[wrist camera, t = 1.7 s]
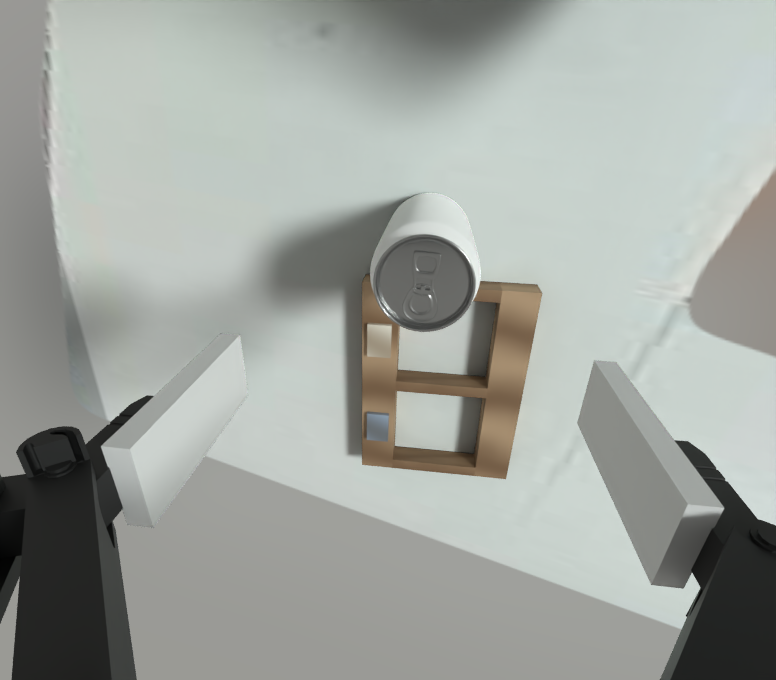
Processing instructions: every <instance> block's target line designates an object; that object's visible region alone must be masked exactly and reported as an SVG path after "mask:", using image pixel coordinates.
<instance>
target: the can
mask: <svg viewBox="0 0 776 680" xmlns="http://www.w3.org/2000/svg"><path fill="white" fill-rule="evenodd" d="M480 278H481V267H480V260H479V256H478V252H477V248H476V244H475V240H474V237H473V233H472V230H471V226H470V223H469V220H468V218H467V216H466V214H465V212H464V210H463V209H462V208H461V207H460V206H459V204H457V203H456V202H455V201H454V200H452V199H451V198H449V197H447V196H445V195H442V194H437V193H423V194H418V195H415V196H413V197H411V198H409V199H407V200H406V201H405V202H403V203H402V204H401V205H400V206H399V207H398V208H397V210H396V211H395V212H394V214H393V216H392V217H391V219H390V221H389V223H388V225H387V227H386V229H385V231H384V233H383V235H382V237H381V239H380V241H379V243H378V245H377V248H376V250H375V252H374V255H373V258H372V262H371V268H370V280H371V286H372V289H373V292H374V294H375V298H376V301H377V303H378V305H379V307H380V308H381V310H382V311H383V312H384V314H385V315H386V316H387V317H388V318H389V319H390V320H392V321H393V322H394V323H396V324H398V325H399V326H401V327H403V328H406V329H409V330H413V331H419V332H430V331H436V330H440V329H443V328H445V327H448V326H450V325H451V324H453V323H455V322H456V321H457V320H458V319H460V318H461V317H462V316H463V315H464V314H465V312H466V311H467V310H468V308H469V306H470V305H471V303H472V301H473V300H474V298H475V296H476V294H477V291H478V288H479V284H480Z"/></svg>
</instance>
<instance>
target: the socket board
mask: <svg viewBox="0 0 776 680" xmlns="http://www.w3.org/2000/svg"><path fill="white" fill-rule="evenodd" d="M541 297H542V292H541V290H540V289H539V287H538V285H535V284H519V283H502V282H486V281H480V284H479V288H478V291H477V294H476V296H475V298H474V300H473V301H481V302H497V303H496V310H495V316H494V323H493V330H492V337H491V344H490V350H489V357H488V364H487V371H486V377H481V376H469V375H456V374H443V373H431V372H418V371H406V370H398V354H399V330H400V326H399V325H398V324H396V323H394V322H393V321H392V320H390V319H389V318H388V317H387V316H386V315H385V314H384V312H383V311H382V310H381V308H380V307H379V305H378V303H377V301H376V298H375V294H374V292H373V289H372V286H371V280H370V274H366V275H365V277H364V279H363V281H362V465H371V466H381V467H391V468H401V469H411V470H421V471H431V472H441V473H451V474H461V475H471V476H481V477H491V478H501V479H506V476H507V471H508V466H509V460H510V455H511V450H512V445H513V440H514V435H515V430H516V425H517V419H518V414H519V409H520V404H521V399H522V394H523V389H524V384H525V379H526V373H527V368H528V363H529V358H530V353H531V348H532V343H533V338H534V333H535V327H536V322H537V317H538V312H539V307H540V302H541ZM397 391H404V392H416V393H428V394H439V395H451V396H463V397H475V398H482V405H481V411H480V418H479V425H478V432H477V439H476V445H475V452H474V454H470V453H460V452H449V451H439V450H428V449H418V448H407V447H397V446H395V426H396V402H397Z"/></svg>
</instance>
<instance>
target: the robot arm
mask: <svg viewBox="0 0 776 680" xmlns="http://www.w3.org/2000/svg"><path fill="white" fill-rule="evenodd" d="M247 396H248V388H247V381H246V374H245V367H244V359H243V352H242V345H241V338H240V335H237V334H223V333H221V334H220V335H219V336H218V337H217V338H215V339H214V340H213V341H212V342H211V343H210V344H209V345H208V346H207V347H206V348H205V349H204V350H203V351H202V352H201V353H200V354H198V355H197V356H196V357H195V358H194V359H193V360H192V361H191V362H190V363H189V364H188V365H187V366H186V367H185V368H184V369H183V370H181V371H180V372H179V373H178V374H177V375H176V376H175V377H174V378H173V379H172V380H171V381H170V382H169V383H168V384H167V385H165V386H164V387H163V388H162V389H161V390H160V391H159V392H158V393H157V394H156V395H155V396H145V397H143V398H141V399H139V400H137V401H136V402H134V403H132V404H130V405H129V406H128V407H127V408H126V409H125V410H124V411H123V412H121V413H120V415H119V416H117V417H116V418H115V419H114V420H112V421H111V422H110V425H107V426H106V427H105V428H104V429H102V431H100V432H99V433H98V434H97V435H96V436H95V437H93V439H91V440H90V441H89V442H88V443H87V444H86V445H85V442H84V440H83V437H82V434H81V432H80V431H79V429H77V428H74V427H57V428H51V429H48V430H46V431H43V432H40V433H37V434H36V435H34V436H32V437H30V438H28V439H27V440H26V441H24V442H23V443H22V444H21V445H20V446H19V448H18V450H17V452H16V453H17V455H18V457H19V460H20V462H21V464H22V467H23V469H24V471H25V473H26V474H23V475H16V476H8V477H1V475H0V623H1V620H2V618H3V615H4V613H5V611H6V608H7V606H8V603H9V601H10V598H11V596H12V593H13V591H14V588H15V586H16V583H17V581H18V579H19V577H20V582H19V594H18V607H17V619H16V633H15V644H14V657H13V669H12V680H137V679H136V671H135V664H134V658H133V650H132V643H131V636H130V629H129V622H128V615H127V608H126V601H125V594H124V586H123V579H122V573H121V566H120V558H119V551H118V544H117V537H116V530H115V527H114V524H113V520H114V518H115V517H116V516H117V515H118V514H119V512H120V511H121V510H123V513H124V516H125V519H126V522H127V525H134V526H143V527H151V528H154V526H155V525H156V523H157V522H158V521H159V519H160V518H161V516H162V515H163V514H164V512H165V511H166V509H167V508H168V507H169V505H170V504H171V503H172V501H173V500H174V498H175V497H176V496H177V494H178V493H179V491H180V490H181V489H182V487H183V486H184V484H185V483H186V482H187V480H188V479H189V477H190V476H191V475H192V473H193V472H194V470H195V469H196V468H197V466H198V465H199V463H200V462H201V461H202V459H203V458H204V456H205V455H206V454H207V452H208V451H209V449H210V448H211V447H212V445H213V444H214V443H215V441H216V440H217V438H218V437H219V436H220V434H221V433H222V431H223V430H224V429H225V427H226V426H227V424H228V423H229V422H230V420H231V419H232V417H233V416H234V415H235V413H236V412H237V410H238V409H239V408H240V406H241V405H242V403H243V402H244V401H245V399H246V398H247ZM577 424H578V426H579V428H580V430H581V432H582V435H583V437H584V439H585V441H586V443H587V445H588V448H589V450H590V452H591V454H592V456H593V459H594V461H595V463H596V465H597V467H598V469H599V472H600V474H601V476H602V478H603V480H604V483H605V485H606V487H607V489H608V491H609V493H610V496H611V498H612V500H613V502H614V504H615V507H616V509H617V511H618V513H619V515H620V517H621V520H622V522H623V524H624V526H625V528H626V531H627V533H628V535H629V537H630V539H631V541H632V544H633V546H634V548H635V550H636V552H637V555H638V557H639V559H640V561H641V563H642V566H643V568H644V570H645V572H646V574H647V576H648V579H649V581H650V583H651V585H657V586H666V587H675V588H684V587H685V585H686V583H687V581H688V579H689V577H690V575H691V573H693V575H694V576H695V578H696V580H697V582H698V583H699V585H700V587H701V588H700V590H699V592H698V594H697V596H696V598H695V600H694V601H693V603H692V605H691V607H690V609H689V611H688V613H687V615H686V616H687V619H686V621H685V623H684V626H683V628H682V630H681V633H680V635H679V637H678V640H677V642H676V644H675V647H674V649H673V651H672V653H671V656H670V658H669V661H668V663H667V665H666V667H665V670H664V672H663V674H662V677H661V679H660V680H776V526H775V525H773V524H770V523H767V522H765V521H762V520H758V519H757V518H756V517H755V515H754V514H753V513H752V512H751V510H750V509H749V508H748V507H747V505H746V504H745V503H744V502H743V500H742V499H741V498H740V497H739V495H738V494H737V493H736V492H735V490H734V489H733V488H732V487H731V485H730V484H729V483H728V482H726V481H725V478H724V477H723V476H722V474H721V473H720V472H719V471H718V470H716V467H715V466H714V464H713V463H712V462H711V461H710V459H709V458H708V457H707V456H706V454H704V453H703V452H702V451H700V450H699V449H698V448H696V447H695V446H694V445H692V444H691V443H690V442H688V441H676V440H674V439H673V438H672V437H671V435H670V434H669V432H668V431H667V430H666V428H665V427H664V426H663V424H662V423H661V422H660V420H659V419H658V418H657V416H656V415H655V414H654V412H653V411H652V410H651V408H650V407H649V405H648V404H647V403H646V401H645V400H644V399H643V397H642V396H641V395H640V393H639V392H638V391H637V389H636V388H635V387H634V385H633V384H632V383H631V381H630V380H629V379H628V377H627V376H626V374H625V373H624V372H623V370H622V369H621V368H620V366H619V365H618V364H617V362H607V361H594V363H593V367H592V370H591V374H590V378H589V382H588V385H587V389H586V393H585V396H584V400H583V404H582V408H581V411H580V415H579V419H578V422H577Z"/></svg>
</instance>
